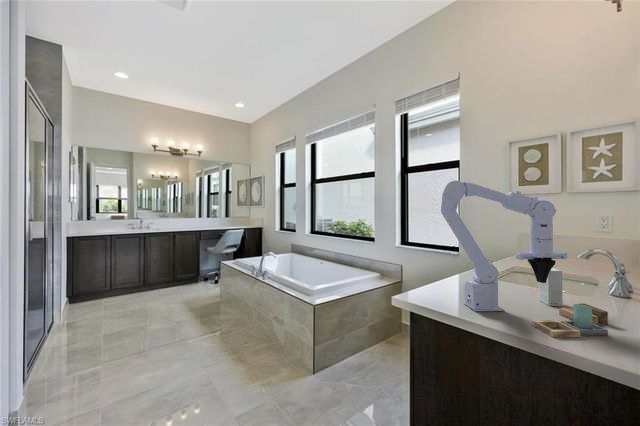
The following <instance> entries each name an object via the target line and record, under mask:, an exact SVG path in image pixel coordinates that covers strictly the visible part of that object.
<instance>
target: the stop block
mask: <svg viewBox="0 0 640 426" xmlns="http://www.w3.org/2000/svg"><path fill="white" fill-rule="evenodd" d="M582 304H583V305H588V306H590V307H592V314H593V315H595V316H598V325H608V324H609V311H606V310H604V309H602V308H598V307H595V306H592V305H589V304H587V303H582Z"/></svg>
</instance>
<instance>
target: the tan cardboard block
mask: <svg viewBox="0 0 640 426" xmlns="http://www.w3.org/2000/svg"><path fill="white" fill-rule="evenodd" d="M558 311H559V312H558V313H559V316H560V317H563V318H565V319H568V321H574V308H573V307H559V310H558ZM592 323H593V324H595V325H599V323H598V316H595V315H593V314H592Z"/></svg>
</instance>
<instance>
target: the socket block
mask: <svg viewBox="0 0 640 426" xmlns="http://www.w3.org/2000/svg"><path fill="white" fill-rule="evenodd" d="M531 322H532V325H531V326H532V327H534V328H536V329H538V330H539V331H541V332H542V333H545V334H546V335H547V336H549V337H551V338H581V336H580V331H579V330H577V329H575V328H573V327H571V326H568V325H566V324H564V323H562V322H561V321H560V320H556V319H555V320H554V319H552V320H550V319H549V320H547V319H546V320H543V319H542V320H532V321H531ZM553 328H558V329H553Z"/></svg>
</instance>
